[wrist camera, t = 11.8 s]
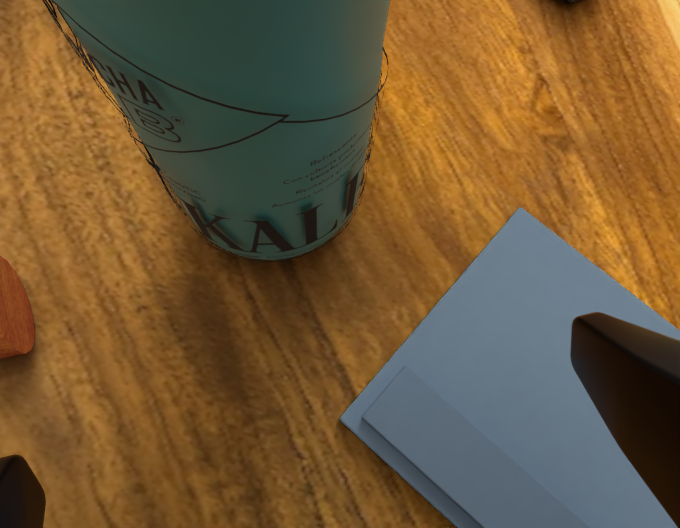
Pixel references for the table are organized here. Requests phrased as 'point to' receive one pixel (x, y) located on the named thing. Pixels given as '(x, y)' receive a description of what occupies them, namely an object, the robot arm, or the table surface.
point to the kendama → (14, 314)
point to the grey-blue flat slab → (509, 395)
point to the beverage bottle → (245, 107)
